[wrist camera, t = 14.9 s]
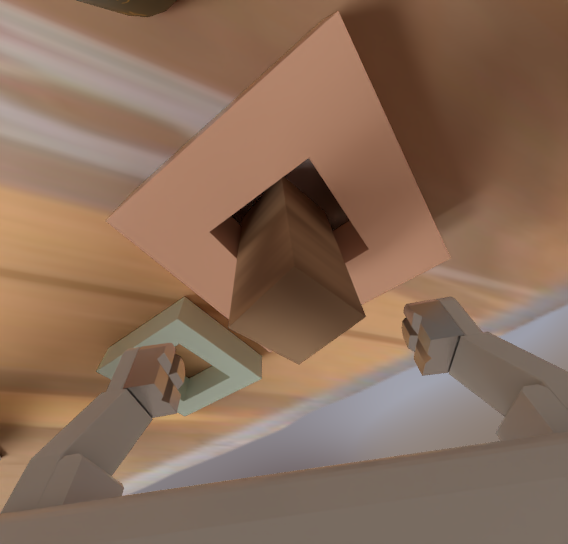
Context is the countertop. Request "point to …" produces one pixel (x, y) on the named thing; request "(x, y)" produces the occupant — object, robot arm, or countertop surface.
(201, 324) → the green square frame
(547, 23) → the countertop surface
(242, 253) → the plug
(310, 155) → the socket block
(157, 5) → the beer can
